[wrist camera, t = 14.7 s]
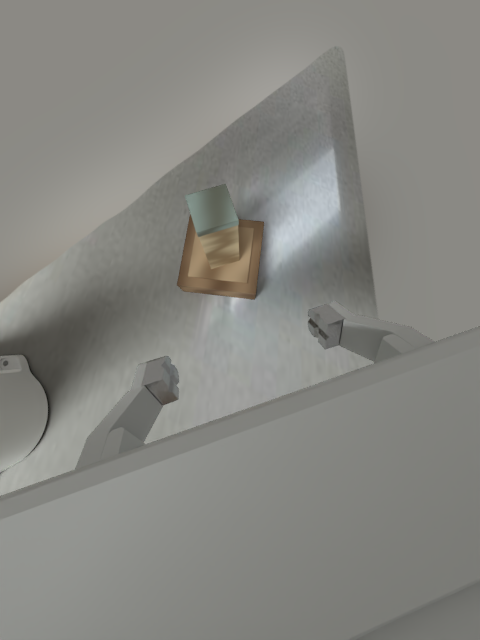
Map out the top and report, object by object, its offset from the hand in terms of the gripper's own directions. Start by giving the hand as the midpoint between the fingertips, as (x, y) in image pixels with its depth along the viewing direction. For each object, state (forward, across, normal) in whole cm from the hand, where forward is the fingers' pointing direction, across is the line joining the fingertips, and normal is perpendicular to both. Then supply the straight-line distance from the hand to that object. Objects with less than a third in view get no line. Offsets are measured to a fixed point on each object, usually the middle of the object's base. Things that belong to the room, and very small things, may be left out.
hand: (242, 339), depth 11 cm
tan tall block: (+22, -2, +1) cm, 22 cm away
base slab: (+24, -2, +4) cm, 24 cm away
